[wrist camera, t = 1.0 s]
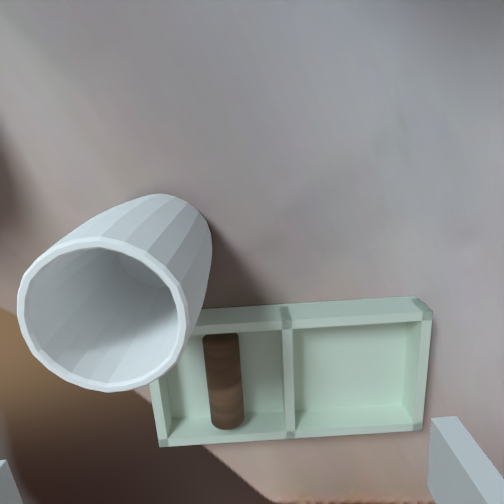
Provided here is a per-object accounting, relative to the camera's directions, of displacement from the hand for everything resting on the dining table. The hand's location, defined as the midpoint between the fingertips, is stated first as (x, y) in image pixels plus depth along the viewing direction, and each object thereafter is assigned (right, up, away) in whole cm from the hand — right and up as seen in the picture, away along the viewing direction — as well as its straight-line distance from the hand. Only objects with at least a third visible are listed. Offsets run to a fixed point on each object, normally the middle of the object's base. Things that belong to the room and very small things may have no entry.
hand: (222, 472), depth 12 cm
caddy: (+4, -3, +22) cm, 23 cm away
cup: (-6, +8, +19) cm, 21 cm away
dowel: (-2, -4, +22) cm, 22 cm away
